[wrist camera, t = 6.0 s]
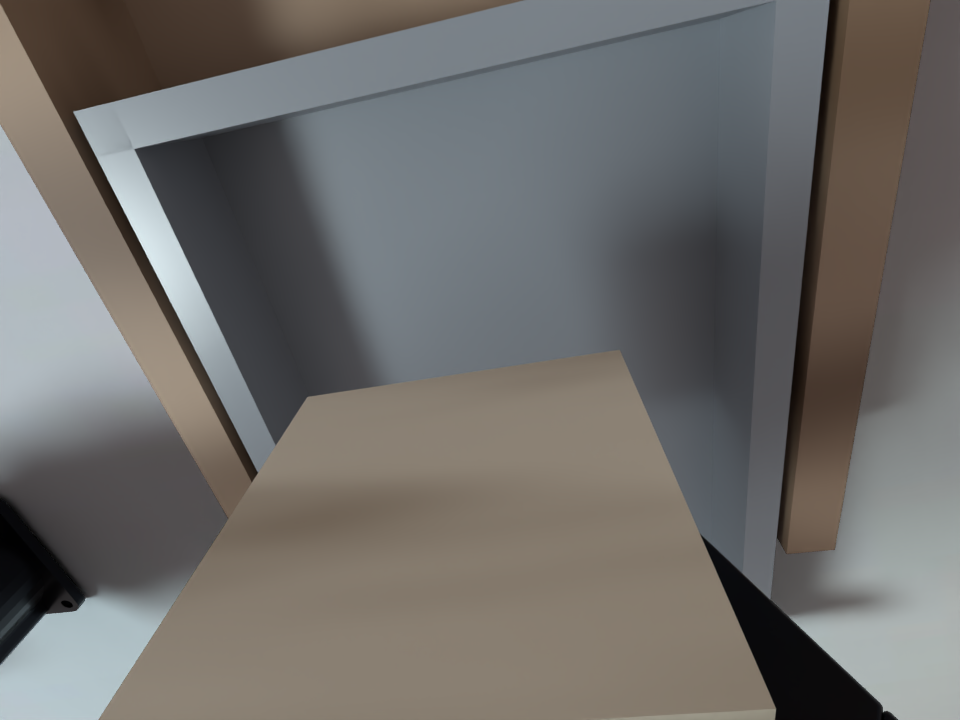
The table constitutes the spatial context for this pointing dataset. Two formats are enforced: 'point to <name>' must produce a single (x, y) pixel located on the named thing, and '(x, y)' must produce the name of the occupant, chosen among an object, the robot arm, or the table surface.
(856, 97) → the dock
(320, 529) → the birch block
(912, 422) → the table surface
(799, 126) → the tray
